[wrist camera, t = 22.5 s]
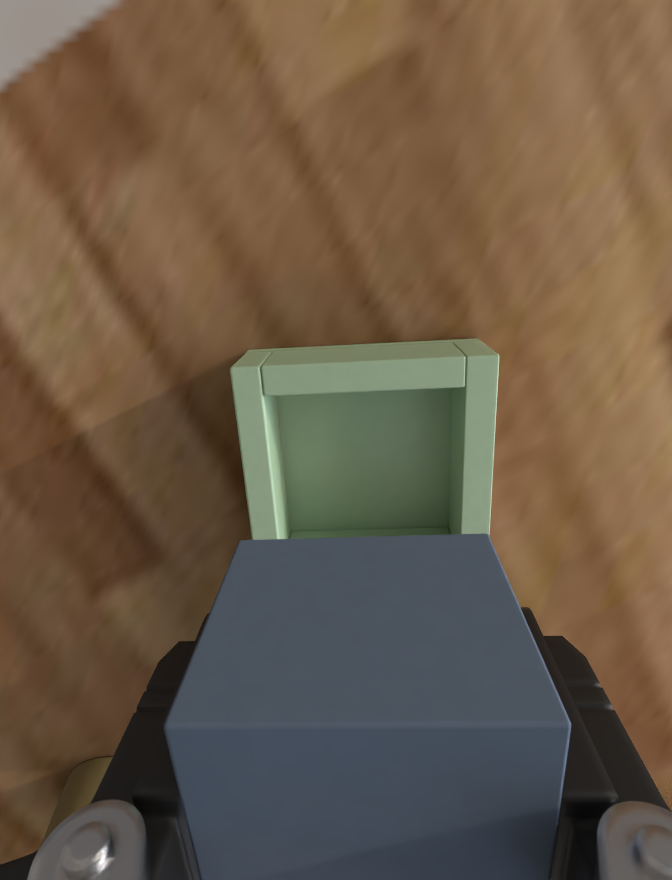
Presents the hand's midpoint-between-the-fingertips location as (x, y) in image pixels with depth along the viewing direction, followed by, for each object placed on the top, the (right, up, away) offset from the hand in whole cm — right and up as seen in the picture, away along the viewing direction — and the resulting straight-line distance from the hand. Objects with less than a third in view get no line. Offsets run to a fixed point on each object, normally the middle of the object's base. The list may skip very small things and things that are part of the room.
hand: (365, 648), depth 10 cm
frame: (+1, 0, +12) cm, 12 cm away
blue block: (0, 0, 0) cm, 0 cm away
